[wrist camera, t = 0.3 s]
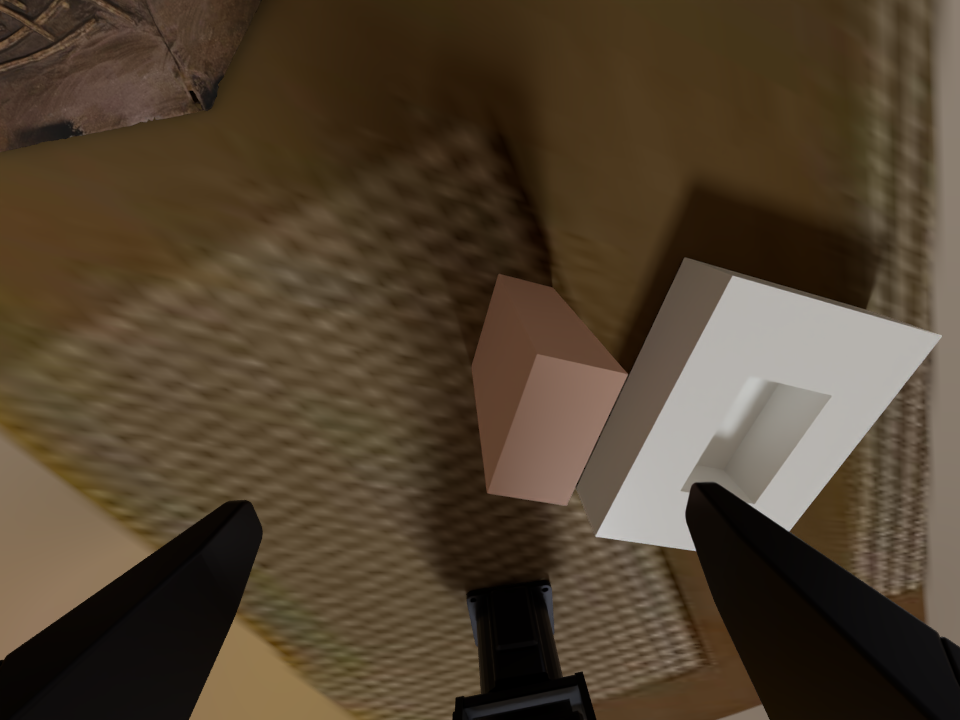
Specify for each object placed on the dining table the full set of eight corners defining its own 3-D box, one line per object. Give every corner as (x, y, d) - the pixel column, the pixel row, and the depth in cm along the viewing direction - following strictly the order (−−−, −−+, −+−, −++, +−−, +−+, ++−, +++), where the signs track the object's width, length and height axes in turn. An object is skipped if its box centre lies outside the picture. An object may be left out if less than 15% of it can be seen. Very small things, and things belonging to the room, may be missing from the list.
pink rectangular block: (521, 377, 24) (566, 505, 15) (471, 366, 23) (487, 493, 14) (552, 287, 22) (628, 374, 13) (498, 273, 21) (537, 353, 12)
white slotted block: (727, 513, 30) (765, 561, 26) (576, 488, 28) (595, 536, 24) (867, 309, 24) (942, 335, 20) (684, 257, 21) (732, 275, 18)
